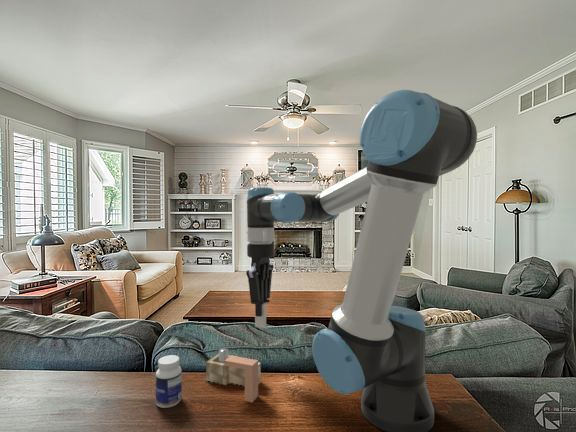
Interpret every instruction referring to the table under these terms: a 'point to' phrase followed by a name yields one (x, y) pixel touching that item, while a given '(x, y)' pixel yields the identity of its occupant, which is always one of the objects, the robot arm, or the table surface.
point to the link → (226, 372)
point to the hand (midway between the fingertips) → (260, 326)
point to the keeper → (246, 374)
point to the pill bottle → (168, 382)
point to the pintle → (223, 355)
